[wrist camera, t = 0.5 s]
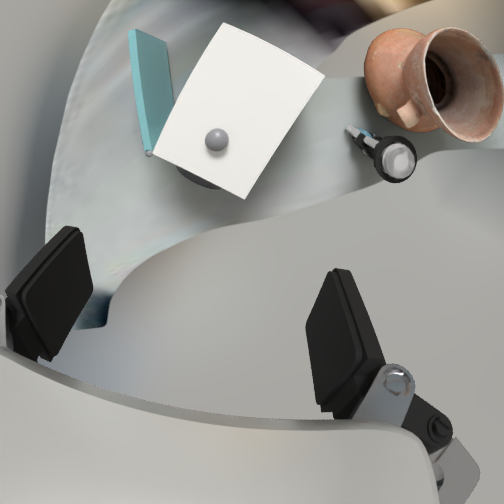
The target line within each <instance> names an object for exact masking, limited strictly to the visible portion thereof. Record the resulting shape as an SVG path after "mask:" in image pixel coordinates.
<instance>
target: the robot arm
mask: <svg viewBox="0 0 504 504" xmlns="http://www.w3.org/2000/svg"><path fill="white" fill-rule="evenodd" d="M5 292H6V294H7V296H8V297H7V298H6V299H5V298H4V297H3V295H1V294H0V504H464V503H465V502H466V500H467V499H468V497H469V496H470V494H471V492H472V491H473V490H474V488H475V486H476V485H477V483H478V481H479V478H480V469H479V466H478V465H477V463H476V462H475V460H474V459H473V458H472V456H471V455H470V454H469V453H468V451H467V450H466V449H465V448H464V446H463V445H462V444H461V442H460V441H459V440H458V439H457V438H456V437H455V438H454V439H453V438H452V435H453V428H452V425H451V422H450V420H449V419H448V418H447V417H446V416H445V415H444V414H443V413H441V412H440V411H439V410H437V409H436V408H434V407H433V406H431V405H430V404H429V403H427V402H426V401H424V400H423V399H422V398H420V397H419V396H417V395H416V394H415V393H414V392H415V381H414V379H413V377H412V375H411V374H410V372H409V371H408V370H406V369H405V368H404V367H402V366H400V365H398V364H387V365H386V362H385V359H384V356H383V353H382V350H381V348H380V345H379V342H378V339H377V336H376V334H375V331H374V328H373V326H372V323H371V320H370V318H369V315H368V312H367V310H366V308H365V305H364V303H363V300H362V298H361V296H360V293H359V291H358V288H357V286H356V283H355V281H354V279H353V276H352V274H351V272H350V271H349V270H344V269H338V268H335V269H333V271H332V272H331V271H329V272H328V273H327V276H326V278H325V281H324V283H323V285H322V288H321V290H320V292H319V294H318V297H317V299H316V302H315V304H314V306H313V308H312V310H311V313H310V315H309V317H308V319H307V322H306V336H307V342H308V348H309V356H310V362H311V369H312V376H313V383H314V391H315V399H316V403H317V404H318V405H320V406H321V412H333V418H334V420H290V419H266V418H252V417H240V416H231V415H222V414H214V413H207V412H201V411H195V410H189V409H183V408H178V407H173V406H168V405H163V404H158V403H154V402H150V401H146V400H142V399H138V398H134V397H130V396H127V395H123V394H120V393H116V392H113V391H110V390H107V389H103V388H100V387H97V386H94V385H91V384H89V383H86V382H83V381H80V380H77V379H75V378H72V377H70V376H67V375H64V374H62V373H59V372H57V371H54V370H52V369H50V368H48V367H45V366H43V365H41V364H39V363H38V361H37V358H38V356H40V357H41V358H42V359H45V360H47V361H49V362H51V361H52V359H53V357H54V356H56V355H57V354H58V353H59V350H60V349H61V347H62V345H63V343H64V341H65V339H66V337H67V335H68V334H69V332H70V330H71V328H72V327H73V325H74V323H75V321H76V320H77V318H78V316H79V314H80V313H81V311H82V309H83V308H84V306H85V304H86V303H87V301H88V299H89V298H90V296H91V294H92V292H93V283H92V279H91V274H90V269H89V265H88V260H87V254H86V249H85V243H84V237H83V233H82V232H80V230H79V228H77V227H72V226H65V227H63V228H62V229H61V230H60V231H59V232H58V233H57V234H56V235H55V236H54V237H53V238H52V239H51V240H50V241H49V242H48V243H47V244H46V245H45V246H44V247H43V248H42V249H41V250H40V251H39V252H38V253H37V254H36V255H35V256H34V257H33V259H32V260H31V261H30V262H29V263H28V264H27V265H26V266H25V267H24V268H23V270H22V271H21V272H20V273H19V274H18V275H17V277H16V278H15V279H14V280H13V281H12V282H11V284H10V285H9V286H8V287H7V289H6V290H5Z"/></svg>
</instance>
